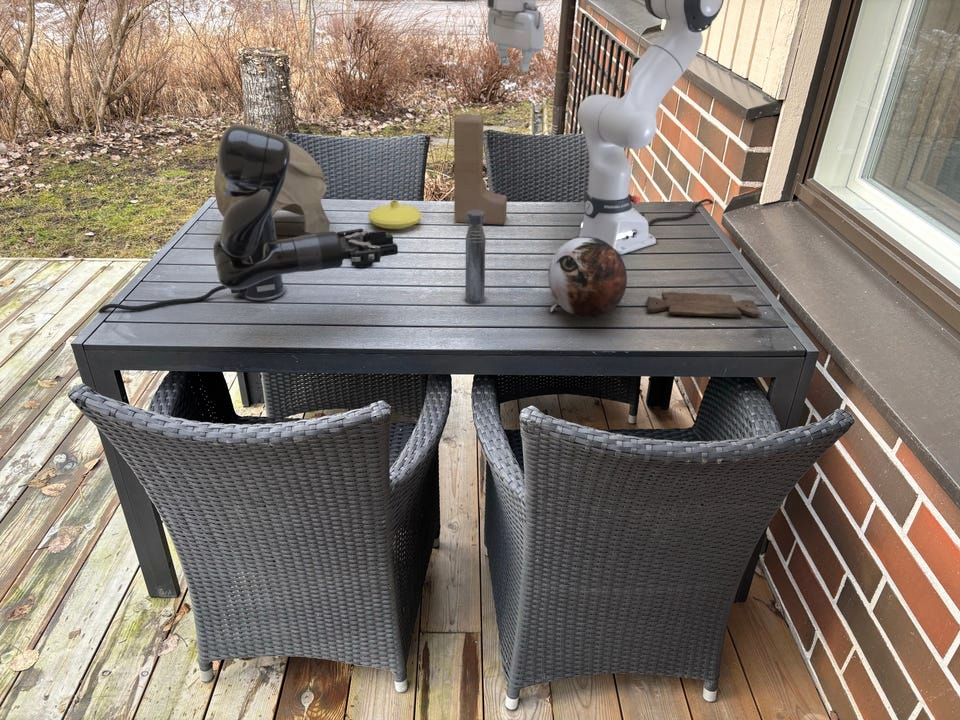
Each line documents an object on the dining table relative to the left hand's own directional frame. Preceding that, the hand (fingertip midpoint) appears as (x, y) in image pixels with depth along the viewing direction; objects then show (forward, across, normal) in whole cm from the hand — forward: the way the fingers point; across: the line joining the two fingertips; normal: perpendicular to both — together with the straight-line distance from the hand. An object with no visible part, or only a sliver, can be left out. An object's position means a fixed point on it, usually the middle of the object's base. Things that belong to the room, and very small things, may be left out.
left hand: (391, 241), depth 154 cm
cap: (+20, 0, -4) cm, 20 cm away
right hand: (+37, +18, -31) cm, 51 cm away
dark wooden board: (+67, -24, +17) cm, 73 cm away
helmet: (-16, +61, +17) cm, 66 cm away
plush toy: (+40, -15, +17) cm, 47 cm away
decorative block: (+42, +50, +17) cm, 68 cm away
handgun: (+4, +36, +17) cm, 40 cm away
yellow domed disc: (+17, +55, +17) cm, 60 cm away
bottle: (+20, 0, +17) cm, 26 cm away
